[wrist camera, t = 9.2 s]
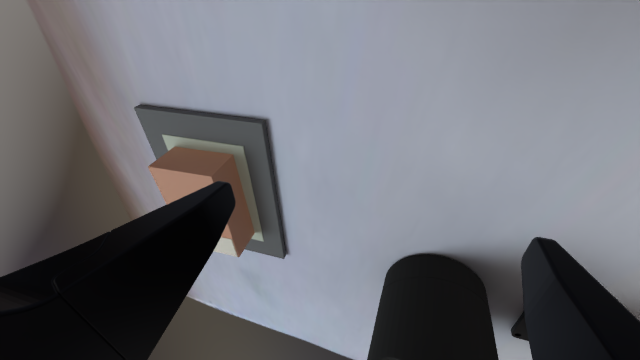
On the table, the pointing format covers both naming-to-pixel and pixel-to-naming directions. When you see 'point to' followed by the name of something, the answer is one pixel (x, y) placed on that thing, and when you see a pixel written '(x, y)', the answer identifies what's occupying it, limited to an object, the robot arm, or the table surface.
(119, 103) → the table surface
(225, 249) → the block
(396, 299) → the pen holder
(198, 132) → the mat
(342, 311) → the table surface
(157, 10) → the table surface
